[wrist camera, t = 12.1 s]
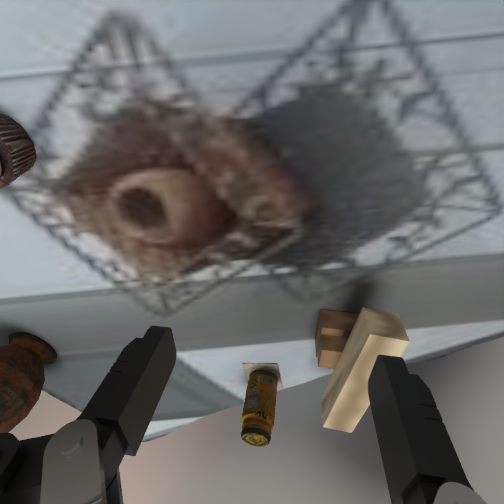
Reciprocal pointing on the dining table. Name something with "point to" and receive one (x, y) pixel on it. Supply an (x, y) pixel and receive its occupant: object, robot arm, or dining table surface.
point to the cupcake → (14, 151)
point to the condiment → (260, 402)
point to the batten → (360, 367)
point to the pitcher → (21, 377)
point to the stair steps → (333, 336)
